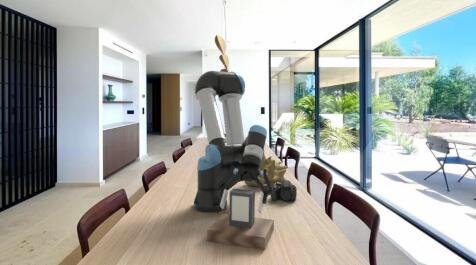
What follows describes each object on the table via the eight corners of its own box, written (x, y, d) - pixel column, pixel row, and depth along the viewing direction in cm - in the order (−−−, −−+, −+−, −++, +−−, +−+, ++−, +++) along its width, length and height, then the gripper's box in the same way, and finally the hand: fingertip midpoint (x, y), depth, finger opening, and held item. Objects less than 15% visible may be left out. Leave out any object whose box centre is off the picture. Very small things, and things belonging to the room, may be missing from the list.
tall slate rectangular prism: (228, 225, 107) (229, 192, 106) (233, 220, 111) (233, 188, 110) (251, 228, 104) (251, 194, 103) (254, 223, 109) (255, 190, 108)
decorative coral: (232, 161, 185) (265, 136, 182) (253, 186, 192) (285, 162, 189) (237, 181, 161) (275, 153, 158) (261, 208, 168) (298, 182, 165)
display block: (207, 240, 104) (207, 229, 103) (222, 223, 119) (222, 213, 118) (264, 249, 98) (265, 237, 97) (273, 230, 113) (274, 219, 113)
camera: (274, 204, 144) (275, 183, 143) (268, 197, 153) (268, 178, 152) (301, 202, 146) (301, 182, 145) (292, 196, 156) (293, 177, 155)
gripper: (219, 151, 119) (203, 200, 106) (283, 155, 112) (275, 208, 99) (223, 162, 125) (209, 210, 112) (284, 166, 117) (277, 218, 104)
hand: (240, 209), depth 105 cm, fingers open, 13 cm apart
